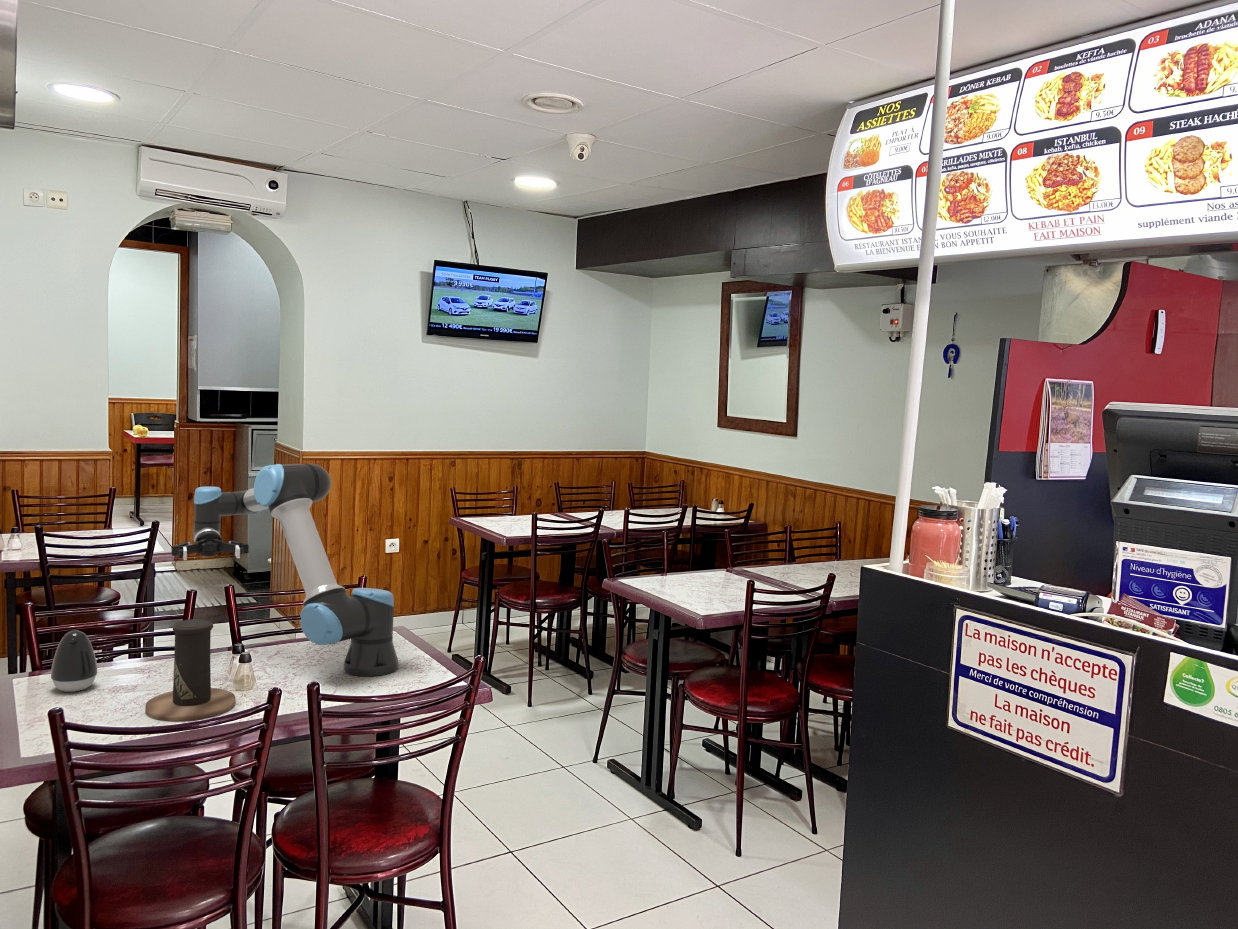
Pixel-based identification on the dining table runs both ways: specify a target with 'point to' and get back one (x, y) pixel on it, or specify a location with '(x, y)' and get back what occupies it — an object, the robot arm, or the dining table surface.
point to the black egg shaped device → (74, 663)
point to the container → (192, 662)
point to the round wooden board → (189, 707)
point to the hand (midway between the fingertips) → (212, 554)
